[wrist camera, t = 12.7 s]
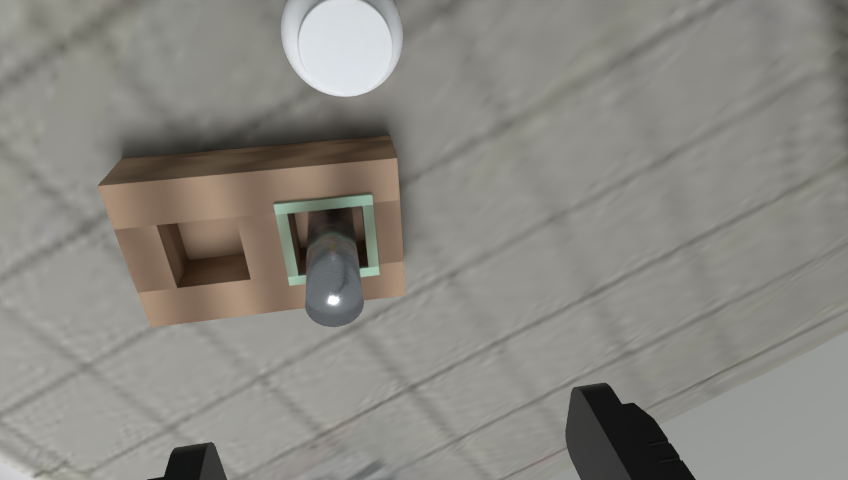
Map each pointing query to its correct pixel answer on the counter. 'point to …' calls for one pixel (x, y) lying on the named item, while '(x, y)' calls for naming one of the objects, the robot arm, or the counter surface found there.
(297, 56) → the supplement bottle
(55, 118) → the counter surface
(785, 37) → the counter surface
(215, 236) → the bore block
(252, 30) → the counter surface
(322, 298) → the pin
